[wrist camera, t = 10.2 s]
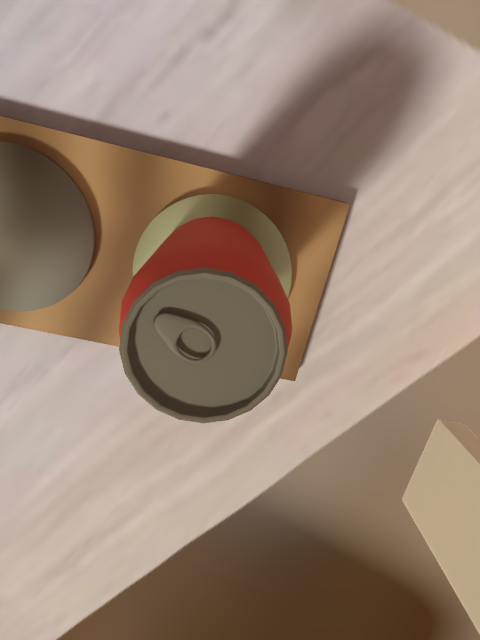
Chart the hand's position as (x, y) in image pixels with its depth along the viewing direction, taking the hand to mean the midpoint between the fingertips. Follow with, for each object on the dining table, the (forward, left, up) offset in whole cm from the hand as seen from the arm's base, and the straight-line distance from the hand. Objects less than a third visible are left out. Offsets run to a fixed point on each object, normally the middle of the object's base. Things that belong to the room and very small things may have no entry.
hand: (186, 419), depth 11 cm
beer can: (0, 0, -16) cm, 16 cm away
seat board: (-6, 0, -17) cm, 18 cm away
